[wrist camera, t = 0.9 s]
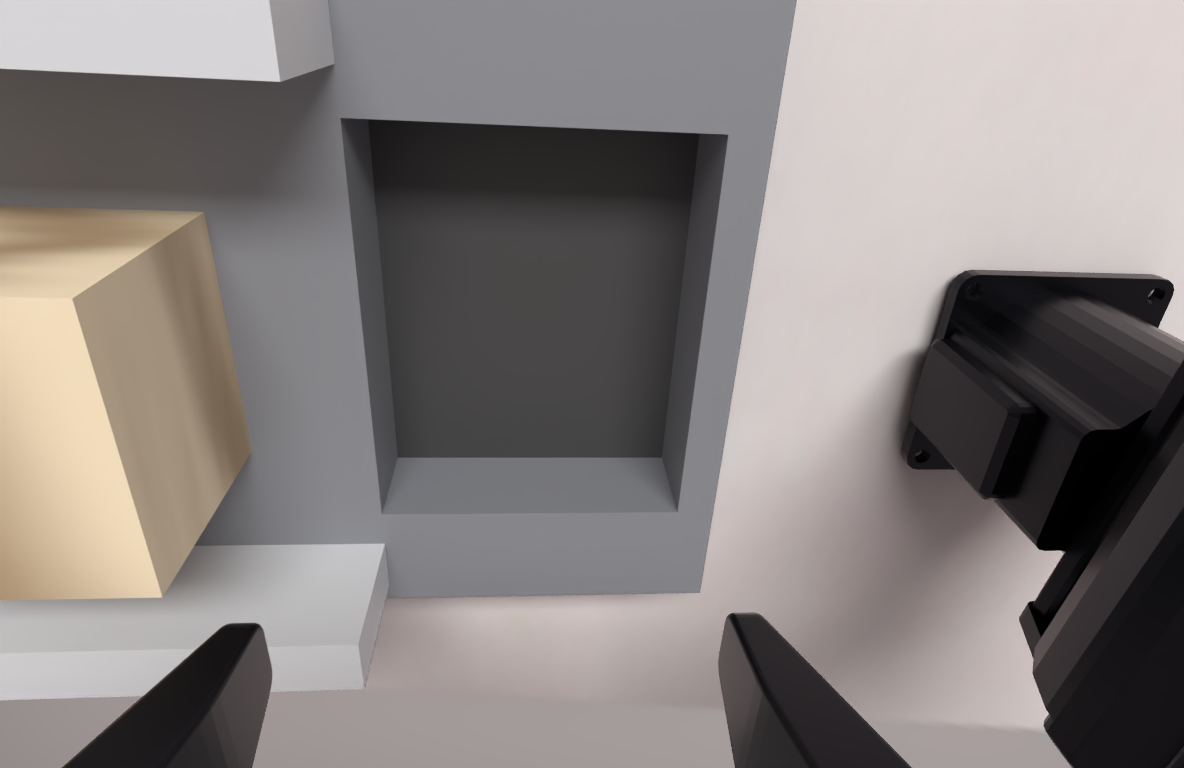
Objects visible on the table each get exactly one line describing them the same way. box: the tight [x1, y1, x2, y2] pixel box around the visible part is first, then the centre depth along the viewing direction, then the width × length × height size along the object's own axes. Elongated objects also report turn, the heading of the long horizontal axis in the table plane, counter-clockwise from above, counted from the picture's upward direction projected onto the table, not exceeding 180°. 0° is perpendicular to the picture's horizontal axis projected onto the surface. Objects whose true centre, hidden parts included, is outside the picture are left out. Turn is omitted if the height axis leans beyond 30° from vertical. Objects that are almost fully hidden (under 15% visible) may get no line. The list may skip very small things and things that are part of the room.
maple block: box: [0, 206, 252, 600], centre depth 14 cm, size 6×6×5 cm
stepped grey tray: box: [0, 0, 797, 700], centre depth 16 cm, size 33×16×6 cm, turn 87°
